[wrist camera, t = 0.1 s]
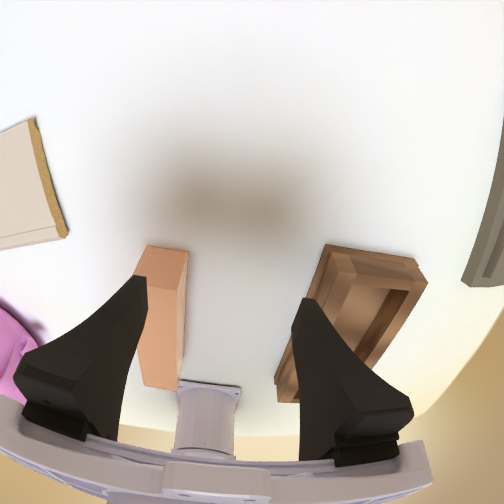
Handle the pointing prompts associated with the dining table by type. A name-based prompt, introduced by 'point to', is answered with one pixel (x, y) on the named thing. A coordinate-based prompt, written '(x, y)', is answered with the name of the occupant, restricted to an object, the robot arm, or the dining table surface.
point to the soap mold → (490, 235)
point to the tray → (358, 305)
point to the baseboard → (26, 191)
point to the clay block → (163, 316)
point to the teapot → (12, 353)
